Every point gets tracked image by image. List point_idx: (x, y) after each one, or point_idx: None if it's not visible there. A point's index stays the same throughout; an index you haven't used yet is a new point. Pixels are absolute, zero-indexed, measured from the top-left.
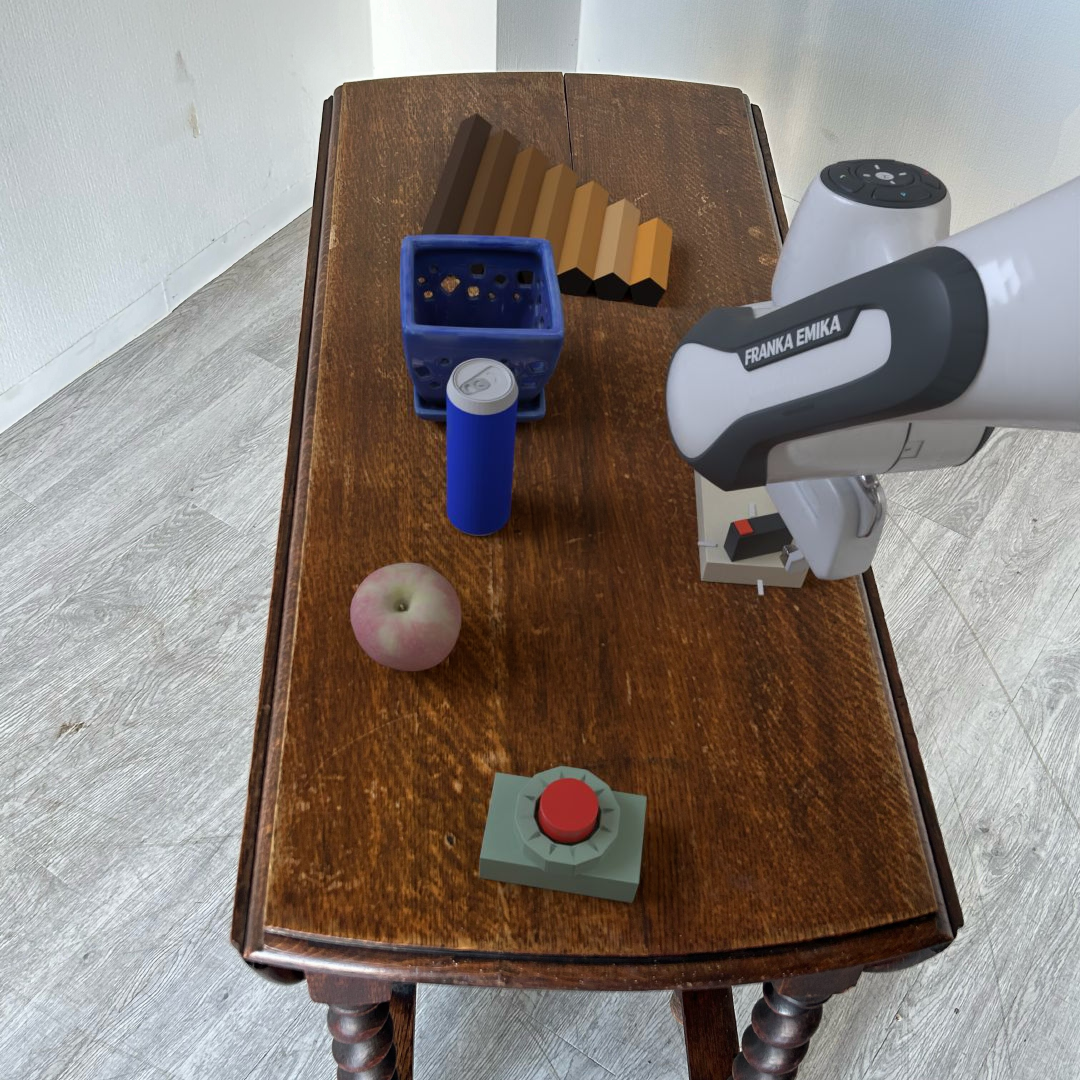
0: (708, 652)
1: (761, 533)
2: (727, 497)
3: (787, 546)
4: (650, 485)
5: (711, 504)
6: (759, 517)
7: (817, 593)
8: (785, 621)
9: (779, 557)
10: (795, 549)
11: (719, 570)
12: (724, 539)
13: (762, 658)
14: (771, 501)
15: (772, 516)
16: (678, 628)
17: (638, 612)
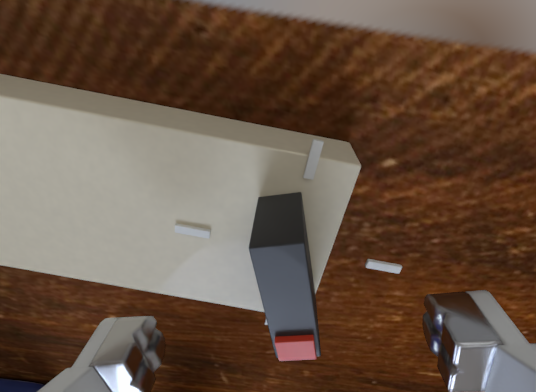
0: None
1: (314, 317)
2: (161, 261)
3: (456, 387)
4: (125, 297)
5: (180, 287)
6: (268, 312)
7: (368, 112)
8: (411, 189)
9: (427, 342)
10: (475, 374)
11: None
12: None
13: (466, 241)
14: (163, 186)
15: (268, 289)
16: (375, 320)
17: (339, 349)
